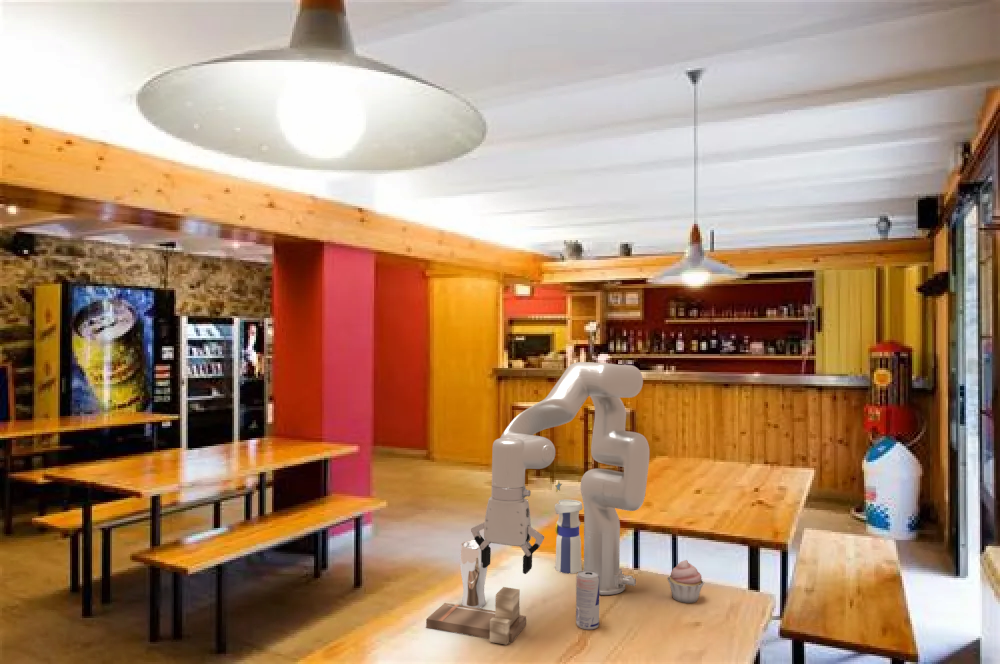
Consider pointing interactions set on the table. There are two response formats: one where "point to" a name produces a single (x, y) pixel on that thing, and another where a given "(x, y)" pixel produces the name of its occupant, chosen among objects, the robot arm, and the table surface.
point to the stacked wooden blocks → (504, 614)
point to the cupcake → (685, 582)
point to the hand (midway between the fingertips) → (506, 569)
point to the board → (469, 621)
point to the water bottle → (568, 536)
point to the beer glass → (472, 575)
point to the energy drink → (587, 599)
